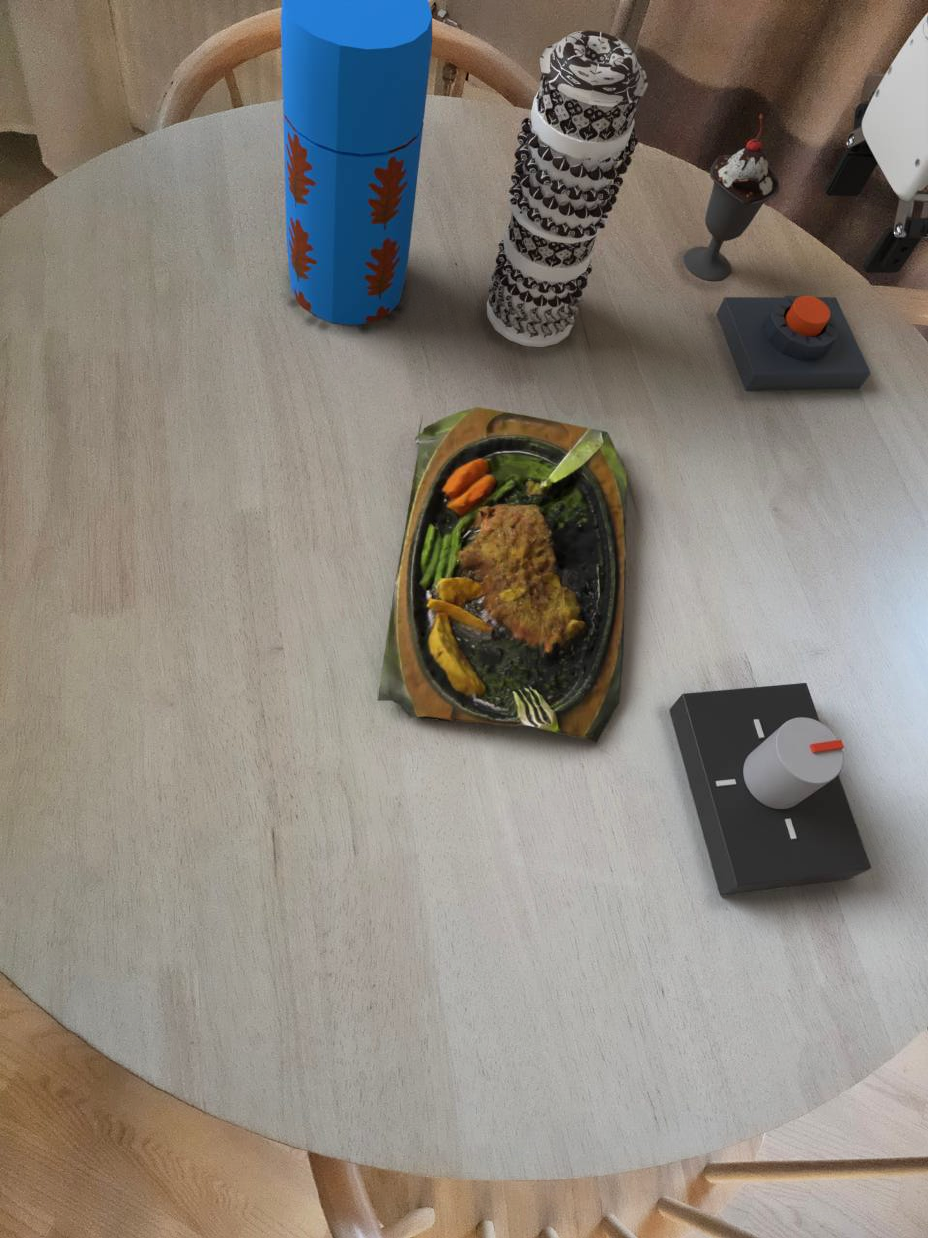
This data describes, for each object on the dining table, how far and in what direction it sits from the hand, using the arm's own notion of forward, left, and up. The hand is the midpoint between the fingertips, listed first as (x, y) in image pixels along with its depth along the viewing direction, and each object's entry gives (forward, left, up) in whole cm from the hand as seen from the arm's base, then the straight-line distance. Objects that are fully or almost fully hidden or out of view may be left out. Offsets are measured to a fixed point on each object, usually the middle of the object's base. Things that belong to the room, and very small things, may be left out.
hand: (860, 230), depth 80 cm
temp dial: (+17, +43, -11) cm, 47 cm away
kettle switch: (0, 0, -11) cm, 11 cm away
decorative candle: (+25, -5, -14) cm, 29 cm away
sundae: (+5, -12, -14) cm, 19 cm away
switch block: (0, 0, -14) cm, 14 cm away
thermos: (+42, -9, -14) cm, 45 cm away
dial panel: (+17, +43, -14) cm, 48 cm away
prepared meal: (+32, +23, -14) cm, 42 cm away
